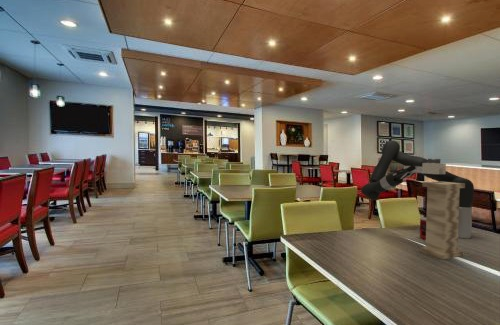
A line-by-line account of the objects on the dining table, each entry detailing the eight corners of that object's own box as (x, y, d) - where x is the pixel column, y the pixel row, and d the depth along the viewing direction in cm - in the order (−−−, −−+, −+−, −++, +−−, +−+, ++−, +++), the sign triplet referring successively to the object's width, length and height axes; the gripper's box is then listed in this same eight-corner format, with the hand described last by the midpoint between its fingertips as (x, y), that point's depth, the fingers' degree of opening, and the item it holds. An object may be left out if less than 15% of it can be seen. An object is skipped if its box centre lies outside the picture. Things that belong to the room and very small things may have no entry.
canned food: (431, 237, 152) (431, 217, 152) (439, 241, 144) (440, 220, 144) (416, 236, 153) (417, 217, 152) (424, 240, 145) (425, 220, 145)
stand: (440, 248, 133) (442, 181, 132) (462, 255, 123) (465, 183, 122) (420, 252, 127) (422, 182, 126) (442, 259, 118) (444, 184, 117)
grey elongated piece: (409, 171, 143) (410, 158, 143) (445, 174, 127) (445, 159, 126) (401, 171, 141) (402, 158, 141) (436, 174, 124) (437, 159, 124)
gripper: (378, 174, 150) (403, 159, 135) (397, 174, 155) (423, 160, 141) (384, 187, 146) (410, 173, 132) (402, 186, 152) (429, 173, 137)
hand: (416, 166), depth 137 cm, fingers closed on grey elongated piece, 3 cm apart
